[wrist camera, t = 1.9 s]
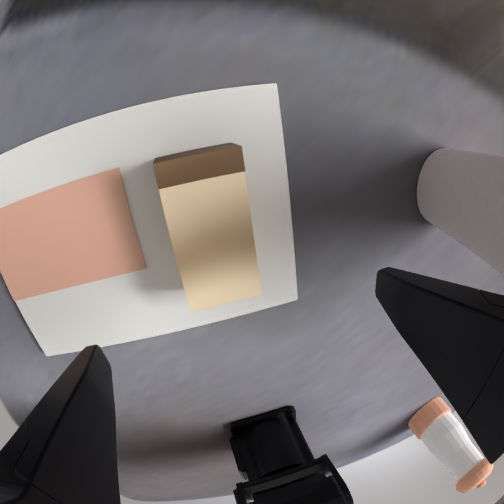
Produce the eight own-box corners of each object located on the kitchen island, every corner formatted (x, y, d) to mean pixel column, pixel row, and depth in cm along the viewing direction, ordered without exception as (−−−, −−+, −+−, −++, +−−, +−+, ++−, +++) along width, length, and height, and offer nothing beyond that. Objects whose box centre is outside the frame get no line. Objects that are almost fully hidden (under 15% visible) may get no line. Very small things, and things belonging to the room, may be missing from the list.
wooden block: (155, 157, 15) (152, 164, 12) (230, 142, 15) (241, 145, 13) (186, 288, 18) (190, 312, 16) (250, 272, 19) (262, 294, 17)
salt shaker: (416, 408, 38) (480, 490, 21) (446, 390, 39) (508, 462, 22) (402, 431, 41) (456, 507, 24) (431, 415, 42) (485, 482, 25)
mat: (274, 84, 15) (277, 83, 15) (295, 296, 21) (298, 300, 21) (-28, 170, 12) (-33, 171, 11) (47, 353, 18) (46, 357, 17)
